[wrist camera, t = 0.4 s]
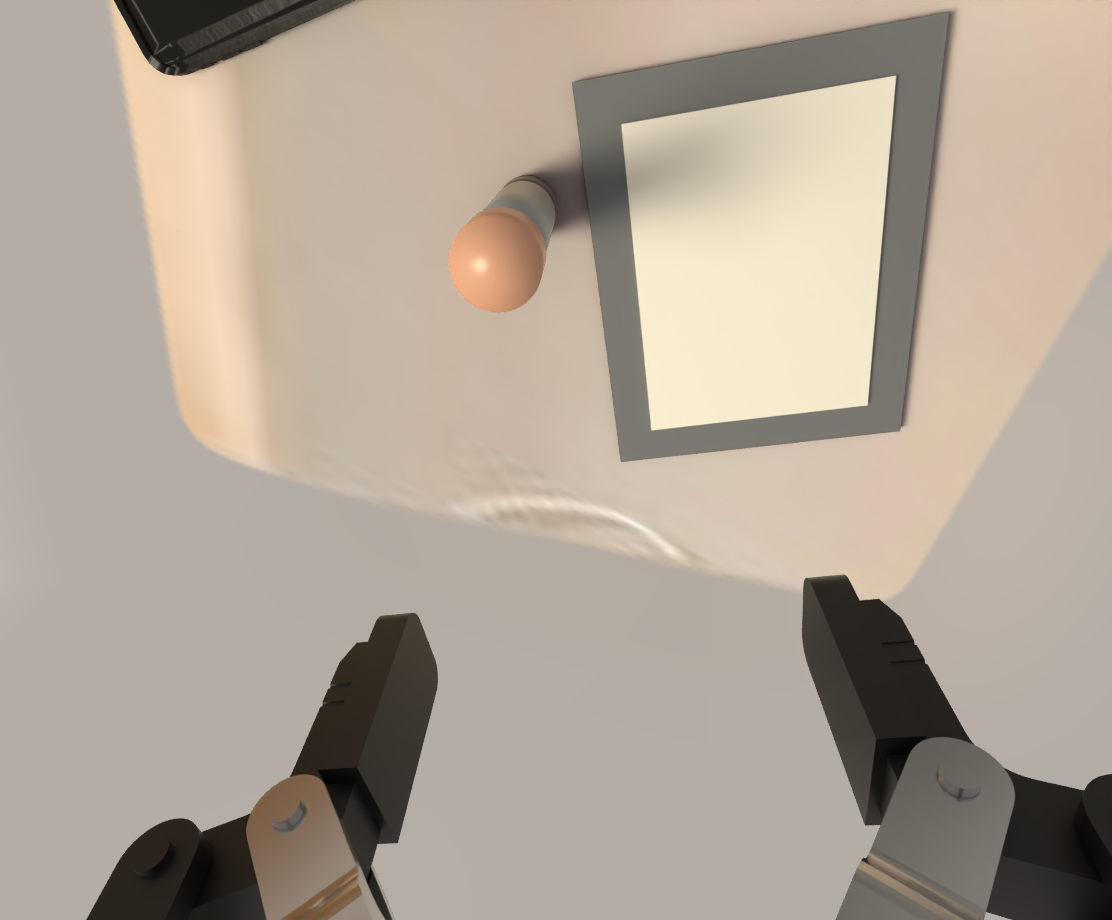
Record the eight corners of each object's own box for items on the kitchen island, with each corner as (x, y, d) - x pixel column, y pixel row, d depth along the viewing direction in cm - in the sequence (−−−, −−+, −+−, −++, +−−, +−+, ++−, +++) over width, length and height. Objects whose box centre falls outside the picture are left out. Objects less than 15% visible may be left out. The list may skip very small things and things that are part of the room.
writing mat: (572, 82, 29) (571, 82, 29) (944, 13, 27) (951, 11, 27) (620, 458, 39) (621, 463, 39) (897, 427, 37) (901, 432, 37)
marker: (490, 179, 32) (438, 224, 21) (554, 168, 31) (533, 209, 21) (502, 245, 33) (460, 318, 23) (564, 235, 33) (549, 305, 22)
